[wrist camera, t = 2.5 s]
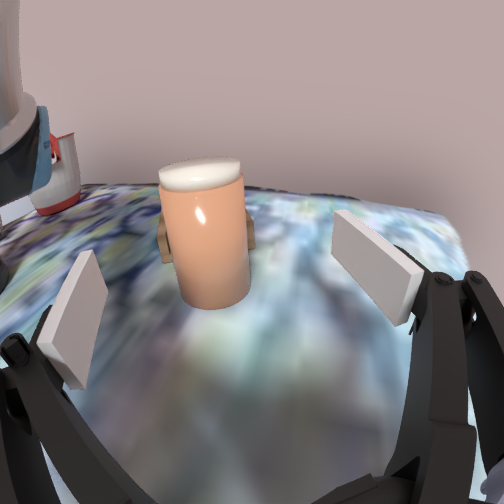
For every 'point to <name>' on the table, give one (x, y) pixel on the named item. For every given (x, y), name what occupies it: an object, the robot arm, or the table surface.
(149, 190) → the table surface
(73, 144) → the citrus juicer
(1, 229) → the teacup
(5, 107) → the robot arm
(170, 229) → the jar
